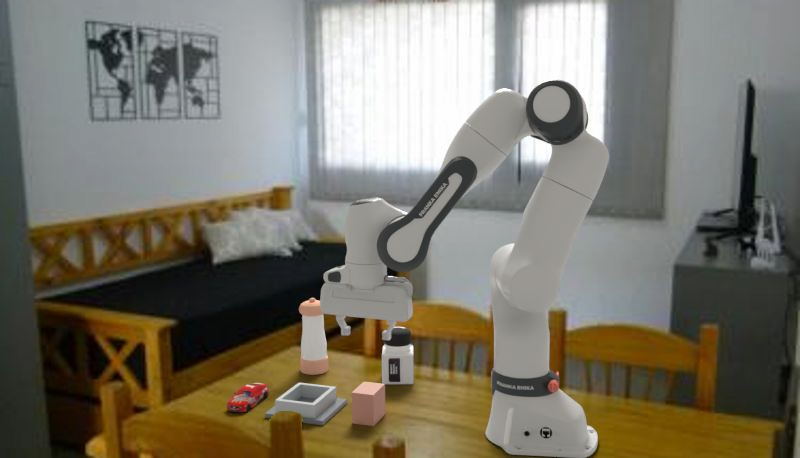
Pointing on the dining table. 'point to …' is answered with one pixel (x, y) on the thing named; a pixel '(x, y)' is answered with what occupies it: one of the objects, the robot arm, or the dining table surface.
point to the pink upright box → (368, 403)
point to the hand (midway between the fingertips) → (366, 337)
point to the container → (398, 358)
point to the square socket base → (309, 403)
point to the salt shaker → (313, 339)
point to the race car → (248, 397)
